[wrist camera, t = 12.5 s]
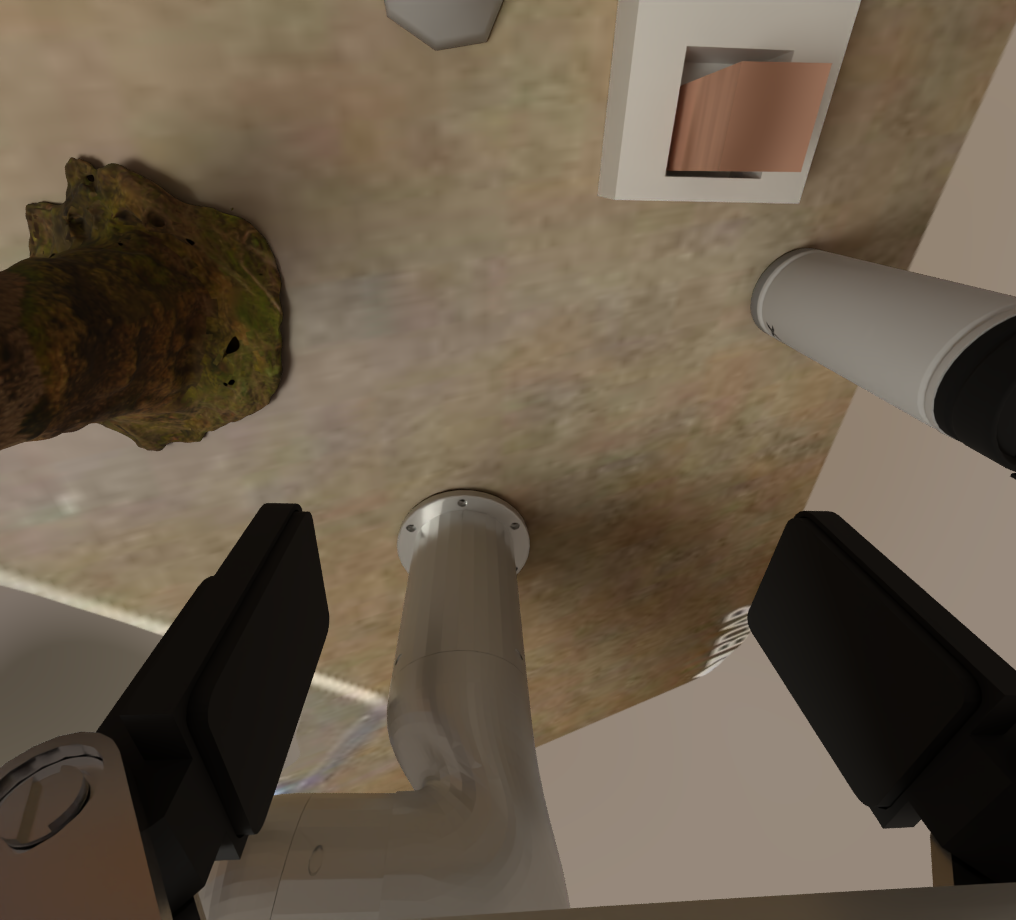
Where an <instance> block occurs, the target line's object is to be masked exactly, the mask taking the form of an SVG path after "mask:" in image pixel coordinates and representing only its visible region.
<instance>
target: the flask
mask: <svg viewBox="0 0 1016 920" xmlns="http://www.w3.org/2000/svg"><path fill="white" fill-rule="evenodd" d="M384 2H385V7H386V12H387V17H389V18H390V19H392V20H393V21H394V22H396V23H397V24H399V25H400V26H402V27H403V28H404V29H406V30H407V31H409V32H410V33H412V34H413V35H414V36H416V37H417V38H419V39H420V40H421V41H423V42H424V43H426V44H427V45H429V46H430V47H431V48H433V49H434V50H442V49H448V48H454V47H460V46H466V45H472V44H478V43H484V42H486V41H487V39H488V36H489V34H490V32H491V29H492V27H493V24H494V22H495V19H496V17H497V14H498V12H499V9H500V7H501V4H502V2H503V0H384Z"/></svg>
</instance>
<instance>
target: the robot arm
mask: <svg viewBox="0 0 1016 920" xmlns="http://www.w3.org/2000/svg"><path fill="white" fill-rule="evenodd" d="M397 550H398V556H399V558H400V561H401V563H402V565H403V567H404V568H405V569H406V571H407V572H408V573H409V576H408V582H407V588H406V594H405V600H404V606H403V612H402V618H401V624H400V630H399V636H398V643H397V649H396V655H395V661H394V667H393V673H392V679H391V685H390V691H389V698H388V704H387V729H388V734H389V738H390V743H391V745H392V748H393V751H394V753H395V756H396V758H397V760H398V762H399V764H400V766H401V768H402V770H403V772H404V773H405V775H406V777H407V778H408V780H409V782H410V783H411V785H412V787H413V788H414V790H415V791H397V792H396V793H292V794H280V795H274V793H275V790H276V787H277V784H278V781H279V778H280V774H281V771H282V768H283V765H284V762H285V759H286V756H287V753H288V750H289V747H290V744H291V741H292V738H293V735H294V732H295V729H296V726H297V723H298V720H299V717H300V714H301V711H302V708H303V705H304V702H305V699H306V696H307V693H308V690H309V687H310V684H311V681H312V678H313V675H314V672H315V669H316V666H317V663H318V660H319V657H320V654H321V651H322V648H323V645H324V642H325V639H326V636H327V633H328V628H329V611H328V605H327V599H326V594H325V588H324V582H323V576H322V570H321V565H320V559H319V553H318V547H317V541H316V536H315V530H314V524H313V518H312V515H311V513H310V512H302V508H301V506H300V505H299V504H288V503H266V504H264V505H263V506H262V507H261V508H260V509H259V511H258V512H257V514H256V515H255V517H254V518H253V520H252V521H251V523H250V524H249V525H248V527H247V528H246V530H245V531H244V533H243V534H242V536H241V537H240V539H239V540H238V542H237V543H236V545H235V546H234V547H233V549H232V550H231V552H230V553H229V555H228V556H227V558H226V559H225V561H224V562H223V564H222V565H221V567H220V568H219V569H218V571H217V572H216V574H215V575H214V576H210V577H208V578H206V579H205V580H204V581H203V582H202V583H201V584H200V585H199V586H198V588H197V589H196V591H195V592H194V593H193V595H192V596H191V598H190V599H189V600H188V602H187V603H186V605H185V606H184V608H183V609H182V610H181V612H180V613H179V615H178V616H177V618H176V619H175V620H174V622H173V623H172V625H171V626H170V628H169V629H168V630H167V632H166V633H165V635H164V636H163V637H162V639H161V640H160V642H159V643H158V645H157V646H156V647H155V649H154V650H153V652H152V653H151V655H150V656H149V657H148V659H147V660H146V662H145V663H144V664H143V666H142V668H141V669H140V670H139V672H138V673H137V674H136V676H135V677H134V679H133V680H132V682H131V683H130V685H129V686H128V687H127V689H126V690H125V692H124V693H123V694H122V696H121V697H120V699H119V700H118V701H117V703H116V704H115V706H114V707H113V709H112V710H111V711H110V713H109V714H108V716H107V717H106V719H105V720H104V721H103V723H102V724H101V726H100V727H99V728H98V730H97V731H96V732H77V733H71V734H67V735H62V736H58V737H55V738H53V739H51V740H48V741H45V742H43V743H41V744H38V745H36V746H33V747H31V748H30V749H28V750H26V751H25V752H23V753H21V754H20V755H18V756H16V757H15V758H13V759H11V760H10V761H8V762H7V763H5V764H4V765H3V766H2V767H0V920H1016V670H1015V669H1013V668H1012V667H1011V666H1010V665H1009V664H1008V663H1007V662H1005V661H1004V660H1003V659H1002V658H1001V657H1000V656H999V655H997V654H996V653H995V652H994V651H993V650H992V649H990V647H988V646H987V645H986V644H985V643H984V642H982V641H981V640H980V639H979V638H978V637H977V636H976V635H975V634H973V633H972V632H971V631H970V630H969V629H968V628H967V627H966V626H964V625H963V624H962V623H961V622H960V621H959V620H958V619H956V618H955V617H954V616H953V615H952V614H951V613H950V612H948V611H947V610H946V609H945V608H944V607H943V606H941V605H940V604H939V603H938V602H937V601H936V600H935V599H934V598H932V597H931V596H930V595H929V594H928V593H926V591H924V590H923V589H922V588H921V587H920V586H919V585H918V584H916V583H915V582H914V581H913V580H912V579H911V578H910V577H908V576H907V575H906V574H905V573H904V572H903V571H902V570H900V569H899V568H898V567H897V566H896V565H895V564H894V563H892V562H891V561H890V560H889V559H888V558H887V557H886V556H884V555H883V554H882V553H881V552H880V551H879V550H878V549H876V548H875V547H874V546H873V545H872V544H871V543H870V542H868V541H867V540H866V539H865V538H864V537H863V536H862V535H860V534H859V533H858V532H857V531H856V530H855V529H853V527H851V526H850V525H849V524H848V523H847V522H845V520H843V519H842V518H841V517H840V516H839V515H837V514H836V513H834V512H829V511H802V512H799V513H798V514H796V515H795V517H794V518H792V519H790V520H789V521H788V523H787V524H786V526H785V529H784V531H783V533H782V536H781V538H780V540H779V542H778V545H777V547H776V549H775V552H774V554H773V556H772V558H771V561H770V563H769V565H768V568H767V570H766V572H765V575H764V577H763V579H762V581H761V584H760V586H759V588H758V591H757V593H756V595H755V598H754V600H753V602H752V604H751V607H750V609H749V611H748V617H747V619H748V625H749V628H750V630H751V632H752V634H753V635H754V637H755V638H756V640H757V641H758V643H759V645H760V646H761V648H762V649H763V651H764V652H765V654H766V655H767V657H768V659H769V660H770V662H771V663H772V665H773V667H774V668H775V670H776V671H777V673H778V674H779V676H780V678H781V679H782V680H783V682H784V684H785V685H786V687H787V689H788V690H789V692H790V693H791V694H792V696H793V698H794V699H795V701H796V702H797V704H798V706H799V707H800V709H801V710H802V712H803V714H804V715H805V717H806V718H807V720H808V721H809V723H810V725H811V726H812V728H813V729H814V731H815V732H816V734H817V736H818V737H819V739H820V740H821V742H822V743H823V745H824V747H825V748H826V750H827V751H828V753H829V754H830V756H831V757H832V759H833V761H834V762H835V764H836V765H837V767H838V768H839V770H840V772H841V773H842V775H843V776H844V778H845V779H846V781H847V783H848V784H849V786H850V787H851V789H852V790H853V792H854V794H855V795H856V796H857V797H858V799H859V800H860V801H861V802H863V804H865V805H867V806H869V807H870V809H871V811H872V812H873V814H874V815H875V817H876V818H877V820H878V821H879V823H880V824H881V826H882V828H902V827H903V828H904V827H914V826H915V825H916V824H917V823H918V822H919V821H920V820H921V819H922V821H923V822H924V823H925V825H926V826H927V828H928V829H929V830H930V831H931V834H930V841H931V858H932V875H933V887H922V888H904V889H886V890H868V891H849V892H832V893H815V894H800V895H781V896H764V897H748V898H731V899H715V900H698V901H682V902H666V903H649V904H634V905H616V906H600V907H586V908H570V904H569V898H568V893H567V888H566V884H565V878H564V874H563V869H562V865H561V861H560V858H559V854H558V850H557V846H556V842H555V839H554V834H553V831H552V827H551V823H550V819H549V815H548V811H547V807H546V802H545V799H544V794H543V789H542V784H541V780H540V774H539V769H538V763H537V757H536V750H535V744H534V736H533V728H532V720H531V711H530V701H529V691H528V684H527V674H526V664H525V654H524V644H523V634H522V624H521V614H520V604H519V594H518V584H517V574H518V573H519V572H520V570H521V569H522V568H523V566H524V565H525V563H526V560H527V558H528V555H529V550H530V541H529V534H528V529H527V526H526V524H525V522H524V519H523V518H522V517H521V515H520V514H519V513H518V511H517V510H516V509H515V508H513V507H512V506H511V505H510V504H509V503H507V502H505V501H504V500H502V499H500V498H498V497H496V496H493V495H490V494H487V493H484V492H478V491H473V490H456V491H449V492H444V493H441V494H437V495H434V496H432V497H430V498H428V499H426V500H424V501H422V502H421V503H419V504H418V505H417V506H415V507H414V508H413V509H412V510H411V511H410V512H409V513H408V514H407V516H406V517H405V519H404V521H403V522H402V524H401V527H400V531H399V534H398V541H397Z"/></svg>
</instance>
